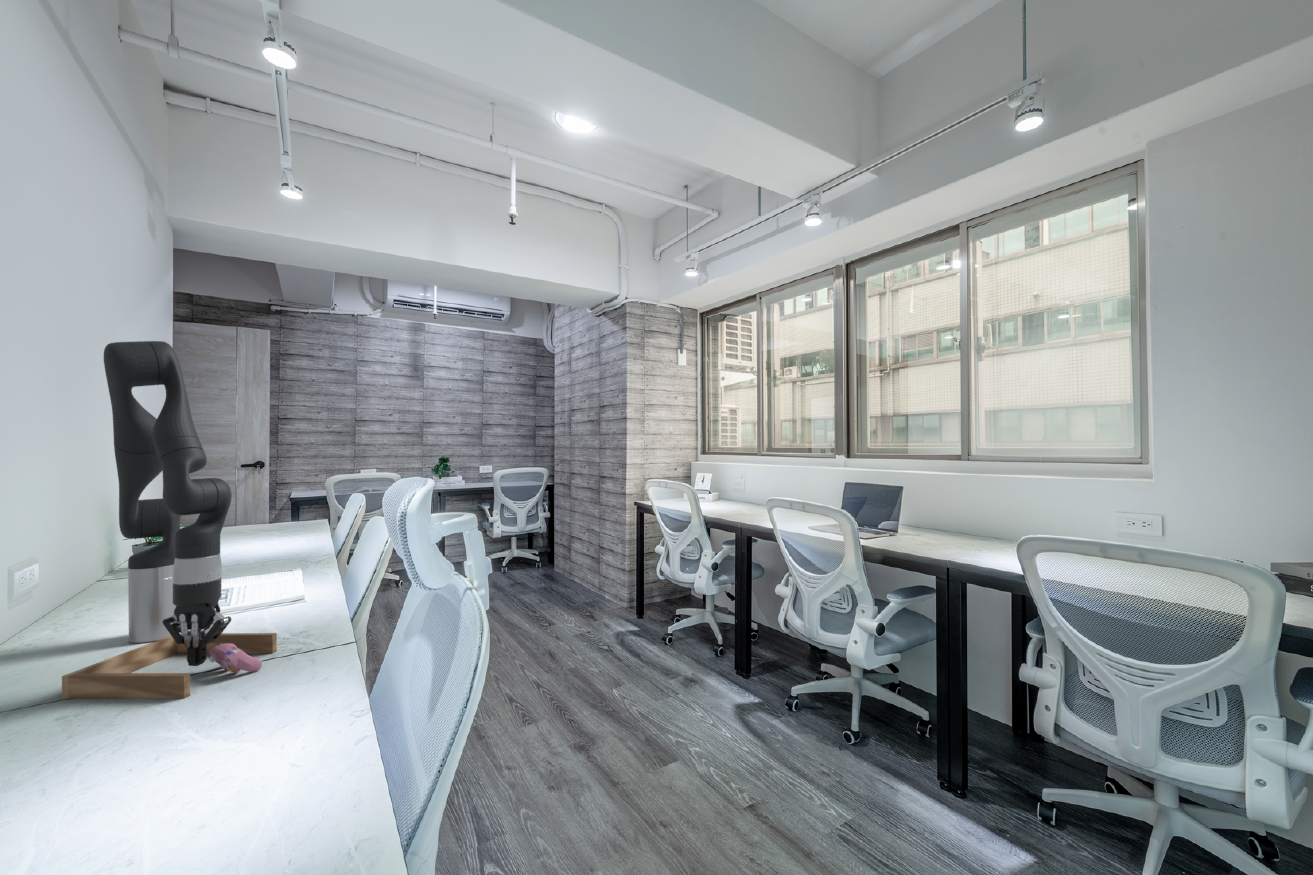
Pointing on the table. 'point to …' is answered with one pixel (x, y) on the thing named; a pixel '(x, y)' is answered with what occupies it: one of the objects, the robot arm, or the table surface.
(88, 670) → the wooden u-shaped frame
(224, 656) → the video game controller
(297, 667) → the table surface
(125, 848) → the table surface
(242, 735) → the table surface
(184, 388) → the robot arm
